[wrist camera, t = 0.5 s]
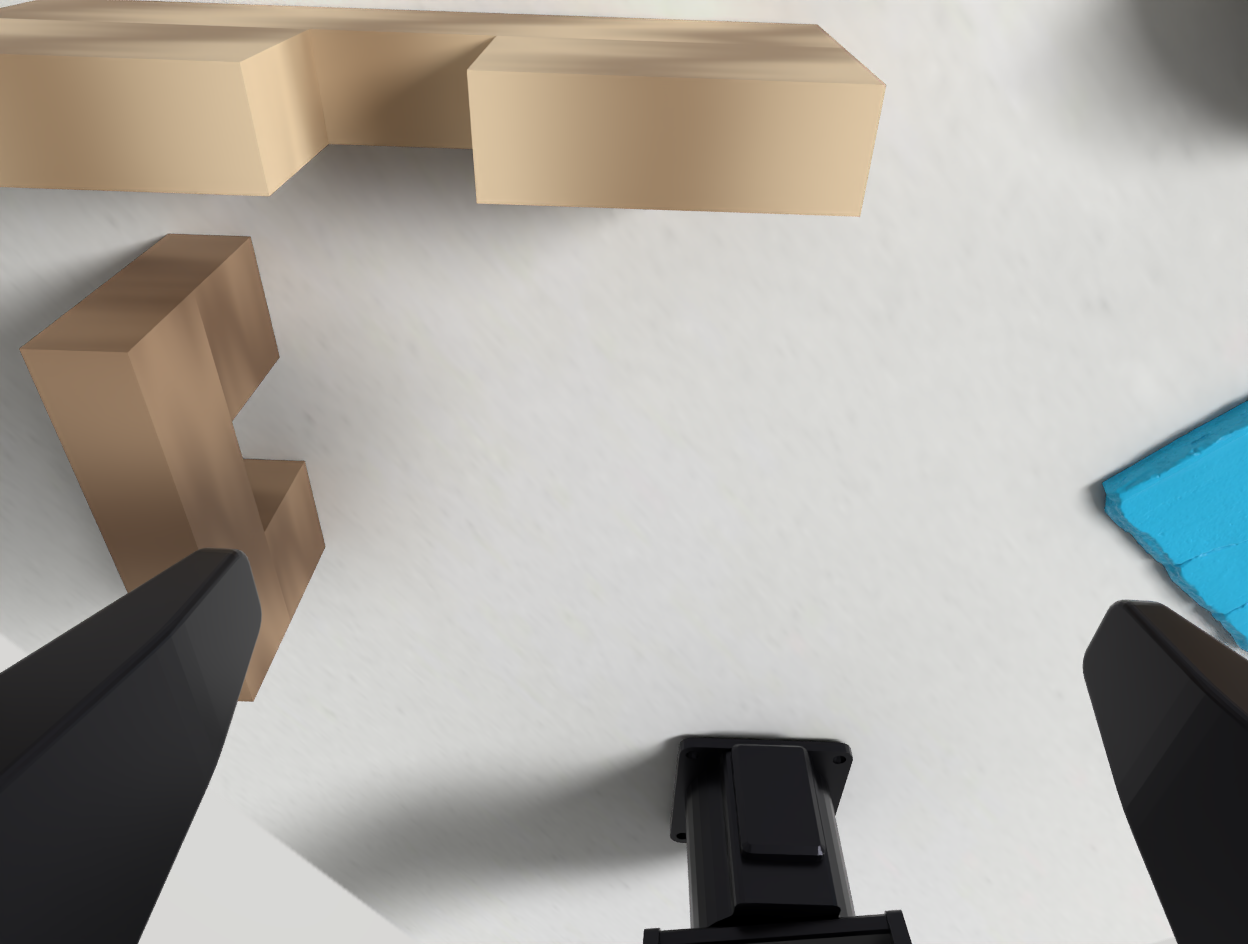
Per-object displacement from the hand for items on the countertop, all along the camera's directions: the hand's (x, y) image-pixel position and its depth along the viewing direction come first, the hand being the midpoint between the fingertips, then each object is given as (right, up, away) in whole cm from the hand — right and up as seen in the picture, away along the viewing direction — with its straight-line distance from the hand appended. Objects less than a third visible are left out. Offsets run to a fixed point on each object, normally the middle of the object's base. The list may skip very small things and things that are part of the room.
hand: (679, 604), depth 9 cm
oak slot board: (-5, +10, +9) cm, 14 cm away
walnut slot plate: (-11, +3, +14) cm, 18 cm away
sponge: (+19, -1, +17) cm, 26 cm away
